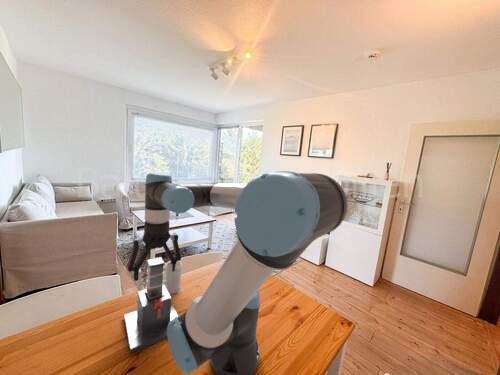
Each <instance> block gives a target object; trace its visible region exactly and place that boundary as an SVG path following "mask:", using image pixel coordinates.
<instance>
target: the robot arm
mask: <svg viewBox="0 0 500 375" xmlns="http://www.w3.org/2000/svg"><path fill="white" fill-rule="evenodd" d="M145 177H146V178H145V184H144V187H145V190H144V191H145V194H144V195H145V196H144V198H145V200H144V201H145V202H144V220H145V221H144V225H143V226H144V228H143V230H144V232H143V235H142V237H140V238H137V237H134V238H132V249H131V252H130V255H129V258H128V262H127V265H126V268H127V271H128V272H133V280H134V281H136V288H137V292H138V291H141V290H142V269H141V267H142V265H143V263H144V262H145V260H146V258H147V257H148V255H149V254H150V252H151V251H152V250H155V249H157V248H158V249H160V248H161V249H164V251H165V253H166V255H167V257H168V259H169V261H167V263H168V275H167V279H168V281H169V282H172V272H173V271H175V264H176V263H177V261H180V262H181V260H182V256H181V250H180V247H179V241H178V240H179V235H178V234H177V233H176V232H173V233H170V219H171V218H170V217H171V212H172V213H176V214H184V213H187V212H188V211H190V210H191V209H194V208H195V209H196V208H203V207H205V208H206V207H214V208H225V209H232V210H234V213H236V217H234V220H233V221H234V225H235V235H236V239H237V241H236V242H235V244H234V245H233V247H232V248H231V250H230V252H229V253H228V255H227V256H226V259H225V260H224V261H223V263H222V265H220V268H219V269H218V270H217V273H216V274H215V276H214V277H213V279H212V281H211V282H210V283H209V286H208V287H207V288H206V290H205V292H204V294H201V295H198V296H196V297H195V298H194V299H193V300H192V302H190V304H189V305H188V306H187V308H186V310H185V312H183V313H182V314H181V315H178V317H175V318H174V319H173V320H171V321H170V322H169V323H168V326H167V337H168V338H167V341H168V342H167V343H168V346H169V349H170V352H171V356H172V358H173V360H174V363H175V365H176V366H177V368H178V369H179V371H180V372H181V374H184V375H189V374H191V373H193V372H194V371H198V369H199V368H200V367H201V366H202V365H204V364H205V363H206V362H208V361H209V364H210V366H211V369H212V371H213V372H214V374H215V375H254V374H255V372H257V371H256V370H257V368H258V366H259V363H260V347H259V343H258V338H257V328H258V320H259V310H260V306H261V303H260V301H261V300H260V299H261V297H260V289H261V288H262V287H263V285H264V284H265V283H266V282H267V281H268V279H269V278H270V277H271V276H272V274H274V272H275V271H283V270H286V269H287V270H288V269H289V268H291V266H293V265H294V263H295V262H296V261H297V260H298V259H299V258H300V256H301V255H302V254H303V253H304V252H305V251H306V249H307V248H309V246H310V245H311V244H312V243H313V242H314V241H316V240H317V239H319V238H321V237H324V236H326V235H327V234H329V233H331V232H333V231H335V230H336V229H337V228H339V227H340V226H341V225H342V223H343V221H344V220H345V218H346V215H347V212H348V207H349V206H348V197H347V195H346V192H345V190H344V188H343V186H341V184H340V183H339V182H338V181H336V180H335V179H334V178H332V177H330V176H329V175H326V174H324V173H317V172H315V173H313V172H307V173H306V172H305V173H304V172H301V173H300V172H294V171H288V170H278V171H273V172H266V173H263V174H260V175H257V176H255V177H254V178H253V179H251V180H250V181H248V182H247V183H243V182H242V183H241V182H240V183H239V182H237V183H235V182H234V183H233V182H231V183H224V182H223V183H218V182H213V183H212V182H211V183H173V179H172V175H171V174H169V173H164V172H163V173H162V172H149V173H147V174H146V176H145ZM168 240H171V243H172V247H173V251H174V255H175V256H174V255H173V253H172V252H171V250H170V248H169V245H167V242H168ZM142 243H144V247H143V249H142V251H141V253H140V254H139V256H138V257H137V255H138V252H139V247H140V246H141V245H142ZM136 259H137V260H136Z"/></svg>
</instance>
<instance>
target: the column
mask: <svg viewBox="0 0 500 375" xmlns="http://www.w3.org/2000/svg"><path fill="white" fill-rule="evenodd" d="M146 265H147V270H146V273H147V276H146V289H147V292H146V294H147V301H151V300H155V299H158V298H161V297H163V295H162V286H163V280H164V270H163V267H164V266H165V265H166V263H165V261H164V259H163V257H162V256H159V257H154V258H150V259H146Z"/></svg>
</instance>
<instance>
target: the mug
mask: <svg viewBox="0 0 500 375" xmlns="http://www.w3.org/2000/svg"><path fill="white" fill-rule="evenodd" d="M182 265H183V263H182V261H181V260H180V261H177V263H176V264H175V271H173V272H172V282H169V281H168V279H167V275H168V262H166V263H165V265H164V266H163V272H165V277H164V279H163V284H164V285H165V287H166V289H167V291H168V292H169V294H170V295H172V294H173V295H174V294H177V293H178V292H180V290H181V283H182V282H181V278H182V268H183V267H182Z"/></svg>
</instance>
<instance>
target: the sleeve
mask: <svg viewBox="0 0 500 375" xmlns="http://www.w3.org/2000/svg"><path fill="white" fill-rule="evenodd" d="M146 292H147V288H145V289H141V290H139V291H138V290H137V309H136V310H134V311H131V312H128V313H125V314H123V321H124V326H125V331H126V337H127V342H128V347H129V354H133V353H135V352H138V351H140V350H143V349H145V348H147V347H150V346H152V345H155V344H157V343H159V342H162V341H164V340H166V339H168V337H167V326H168V323H169V322H170V321H171V320H173V319H174V318H175V317H178V316H179V315H178V313H177V310H176V309H175V306H174V304H173V302H172V296H171V294H169V292H168V291H167V289H166V287H165V285H164V284H163V286H162V295H163V297H161V298H158V299H155V300H151V301H147V294H146Z"/></svg>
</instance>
